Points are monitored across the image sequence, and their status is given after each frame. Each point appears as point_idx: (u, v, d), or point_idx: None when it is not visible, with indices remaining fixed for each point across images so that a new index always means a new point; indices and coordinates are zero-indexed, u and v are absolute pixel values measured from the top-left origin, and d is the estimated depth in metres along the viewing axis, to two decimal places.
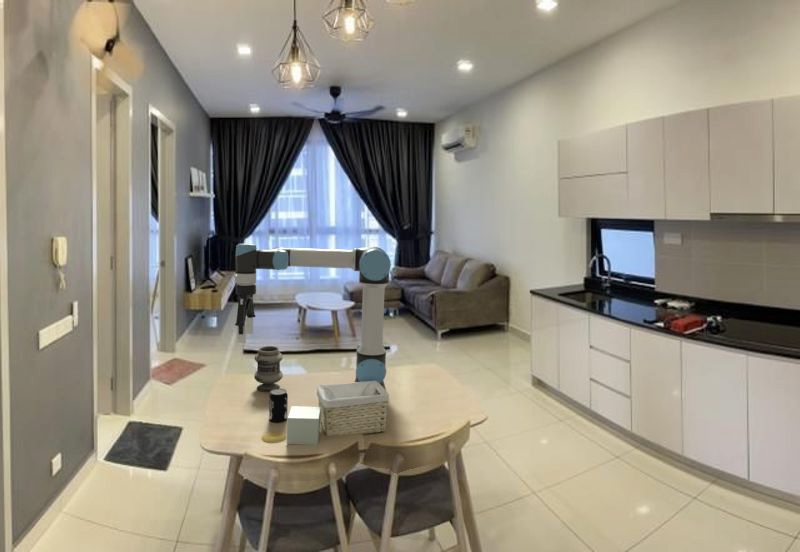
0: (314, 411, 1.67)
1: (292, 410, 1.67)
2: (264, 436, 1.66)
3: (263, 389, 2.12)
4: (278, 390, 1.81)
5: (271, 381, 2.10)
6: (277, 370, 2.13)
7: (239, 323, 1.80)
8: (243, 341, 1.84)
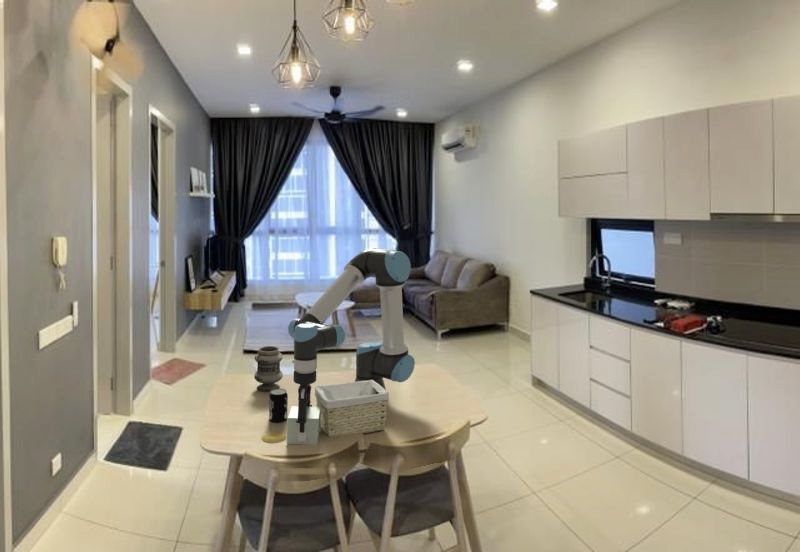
0: (314, 411, 1.67)
1: (292, 410, 1.67)
2: (264, 436, 1.66)
3: (263, 389, 2.12)
4: (278, 390, 1.81)
5: (271, 381, 2.10)
6: (277, 370, 2.13)
7: (301, 421, 1.57)
8: (304, 439, 1.61)
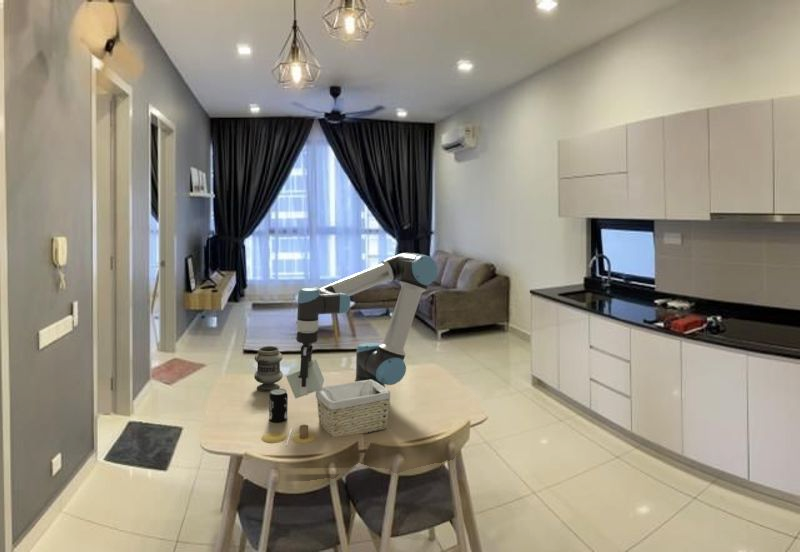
0: (309, 363, 1.81)
1: (291, 370, 1.81)
2: (264, 436, 1.66)
3: (263, 389, 2.12)
4: (278, 390, 1.81)
5: (271, 381, 2.10)
6: (277, 370, 2.13)
7: (303, 376, 1.72)
8: (305, 394, 1.76)
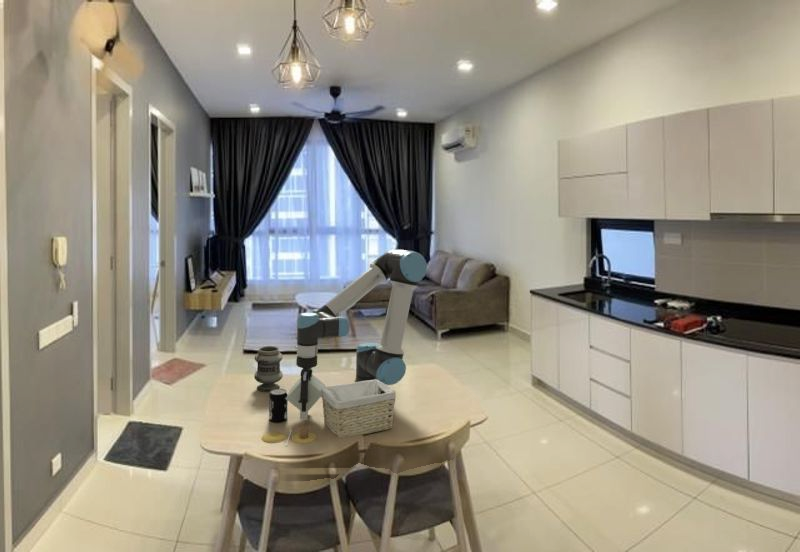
0: None
1: (289, 391, 1.82)
2: (264, 436, 1.66)
3: (263, 389, 2.12)
4: (278, 390, 1.81)
5: (271, 381, 2.10)
6: (277, 370, 2.13)
7: (303, 401, 1.73)
8: (305, 418, 1.77)
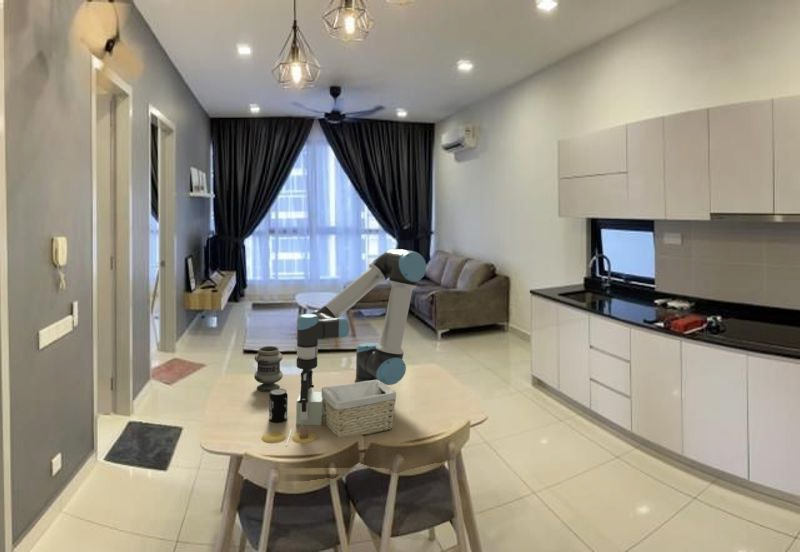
0: None
1: None
2: (264, 436, 1.66)
3: (263, 389, 2.12)
4: (278, 390, 1.81)
5: (271, 381, 2.10)
6: (277, 370, 2.13)
7: (303, 401, 1.72)
8: (306, 418, 1.75)
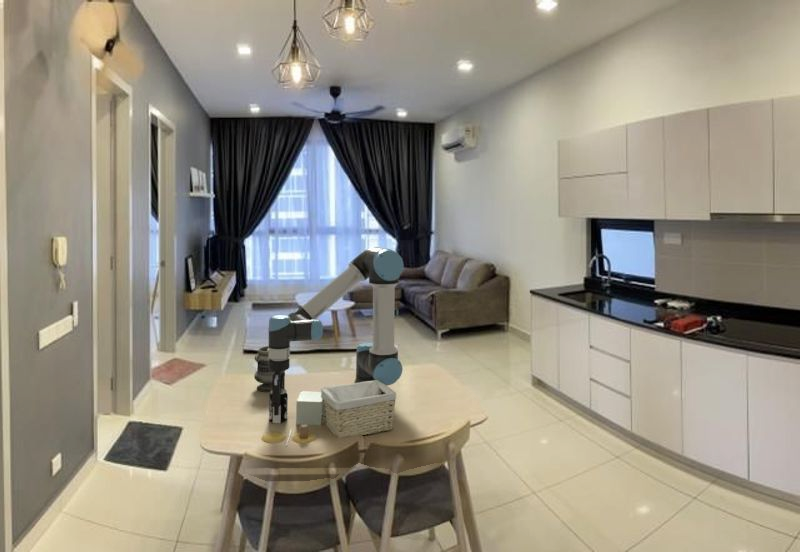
0: None
1: None
2: (264, 436, 1.66)
3: (263, 389, 2.12)
4: None
5: (271, 381, 2.10)
6: None
7: (275, 405, 1.73)
8: (278, 422, 1.77)
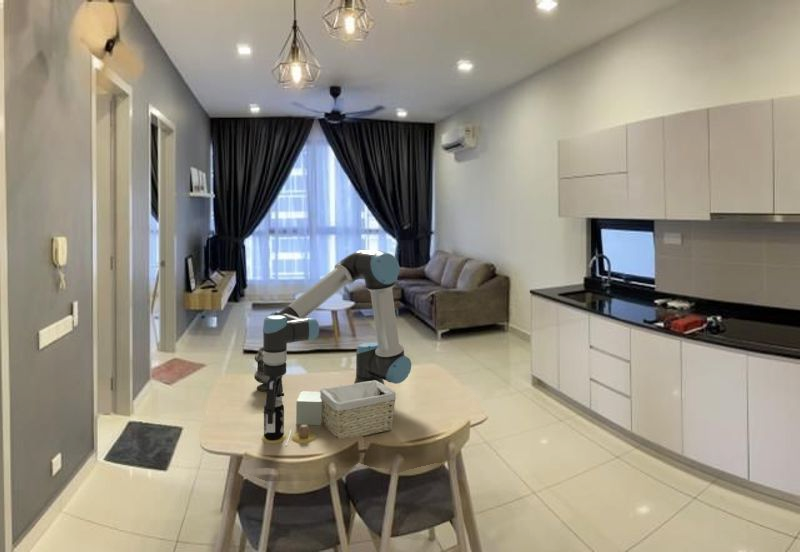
0: None
1: None
2: None
3: (263, 389, 2.12)
4: None
5: None
6: None
7: (269, 412, 1.55)
8: (273, 431, 1.59)
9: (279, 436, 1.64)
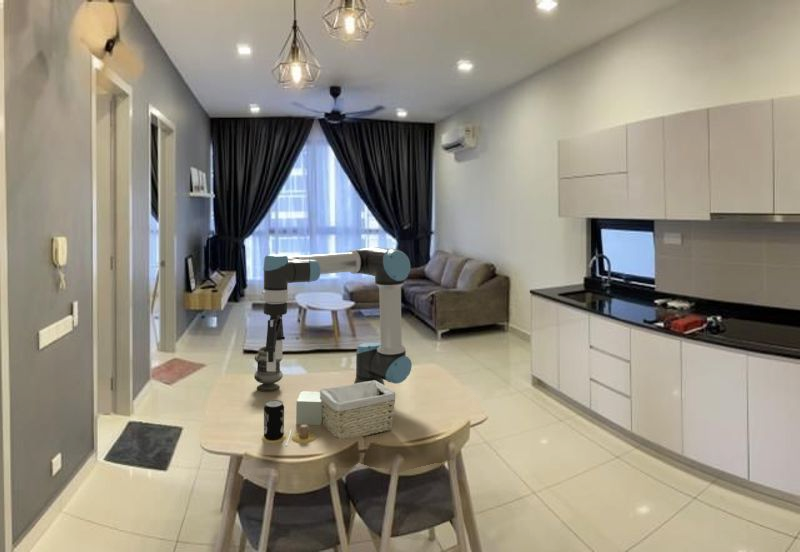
0: None
1: None
2: None
3: (263, 389, 2.12)
4: (274, 402, 1.66)
5: (271, 381, 2.10)
6: (277, 370, 2.13)
7: (269, 349, 1.52)
8: (273, 370, 1.56)
9: (279, 436, 1.64)
